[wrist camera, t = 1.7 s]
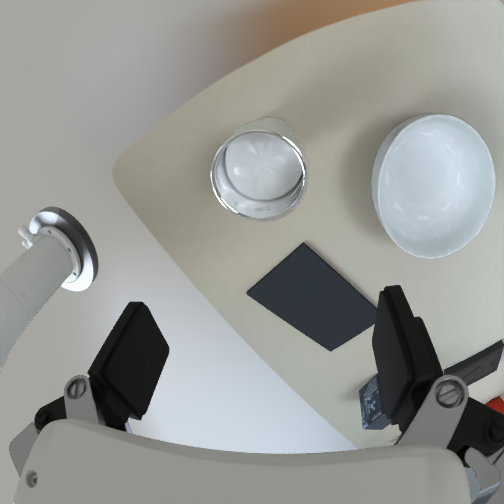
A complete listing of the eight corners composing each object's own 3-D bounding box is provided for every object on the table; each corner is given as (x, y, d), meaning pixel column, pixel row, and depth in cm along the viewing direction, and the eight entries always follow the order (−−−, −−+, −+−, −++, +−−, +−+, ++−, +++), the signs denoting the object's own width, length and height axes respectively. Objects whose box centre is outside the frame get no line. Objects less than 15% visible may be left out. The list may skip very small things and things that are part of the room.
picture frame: (443, 391, 55) (494, 365, 49) (444, 397, 53) (496, 371, 47) (444, 369, 50) (501, 339, 44) (446, 376, 48) (504, 346, 42)
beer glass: (307, 122, 29) (324, 141, 16) (292, 176, 33) (295, 235, 20) (247, 107, 29) (216, 116, 16) (235, 162, 32) (200, 212, 20)
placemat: (246, 291, 43) (246, 294, 42) (303, 242, 37) (303, 244, 37) (330, 349, 48) (330, 351, 47) (383, 314, 42) (384, 317, 42)
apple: (479, 412, 66) (485, 432, 57) (482, 404, 62) (488, 426, 53) (499, 400, 62) (506, 420, 53) (503, 391, 58) (510, 412, 49)
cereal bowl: (478, 201, 30) (504, 222, 24) (389, 251, 36) (405, 281, 30) (442, 90, 23) (473, 93, 17) (336, 144, 30) (348, 156, 24)
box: (376, 373, 51) (383, 415, 42) (395, 375, 51) (404, 415, 42) (357, 390, 55) (362, 430, 46) (377, 392, 56) (382, 430, 47)
